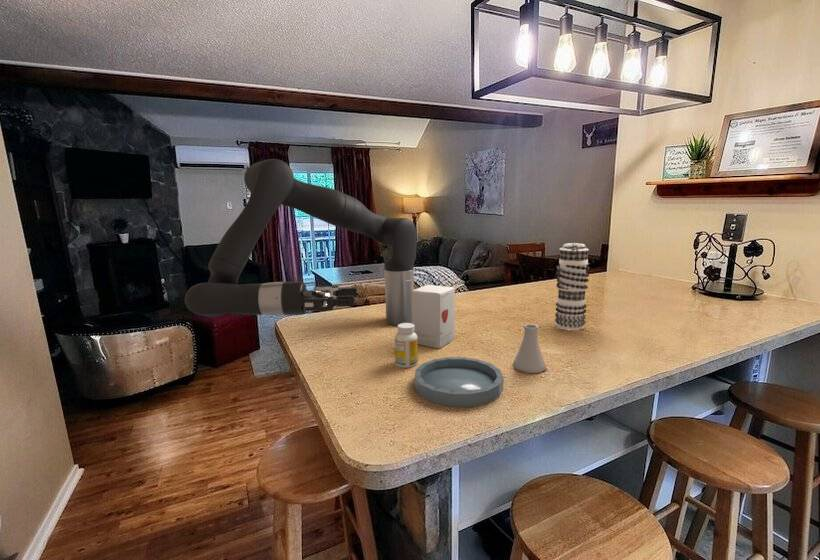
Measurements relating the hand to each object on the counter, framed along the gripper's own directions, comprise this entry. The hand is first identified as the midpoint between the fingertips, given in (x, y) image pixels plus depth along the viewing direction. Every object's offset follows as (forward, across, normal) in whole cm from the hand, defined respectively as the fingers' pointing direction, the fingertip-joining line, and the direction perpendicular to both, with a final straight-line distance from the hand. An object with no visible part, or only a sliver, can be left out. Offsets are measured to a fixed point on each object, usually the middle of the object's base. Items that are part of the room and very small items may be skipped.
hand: (355, 296), depth 91 cm
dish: (+21, -12, +17) cm, 30 cm away
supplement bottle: (+12, 0, +17) cm, 21 cm away
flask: (+39, -6, +17) cm, 43 cm away
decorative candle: (+63, +23, +16) cm, 68 cm away
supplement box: (+20, +15, +17) cm, 30 cm away
